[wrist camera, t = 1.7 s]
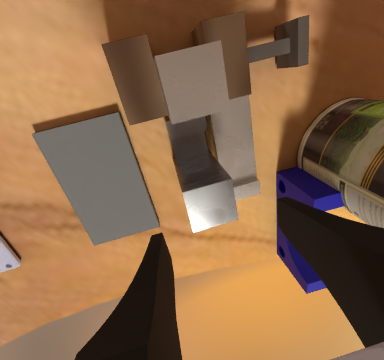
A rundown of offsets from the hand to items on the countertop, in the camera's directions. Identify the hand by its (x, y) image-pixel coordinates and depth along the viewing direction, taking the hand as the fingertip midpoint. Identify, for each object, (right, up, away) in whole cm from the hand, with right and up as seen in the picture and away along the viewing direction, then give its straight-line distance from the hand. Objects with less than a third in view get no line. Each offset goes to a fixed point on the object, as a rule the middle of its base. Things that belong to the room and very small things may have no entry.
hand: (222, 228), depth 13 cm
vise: (-1, +12, +5) cm, 13 cm away
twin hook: (0, +7, +7) cm, 10 cm away
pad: (-10, +3, +8) cm, 13 cm away
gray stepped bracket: (-2, +6, +8) cm, 10 cm away
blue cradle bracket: (+10, -1, +13) cm, 17 cm away
